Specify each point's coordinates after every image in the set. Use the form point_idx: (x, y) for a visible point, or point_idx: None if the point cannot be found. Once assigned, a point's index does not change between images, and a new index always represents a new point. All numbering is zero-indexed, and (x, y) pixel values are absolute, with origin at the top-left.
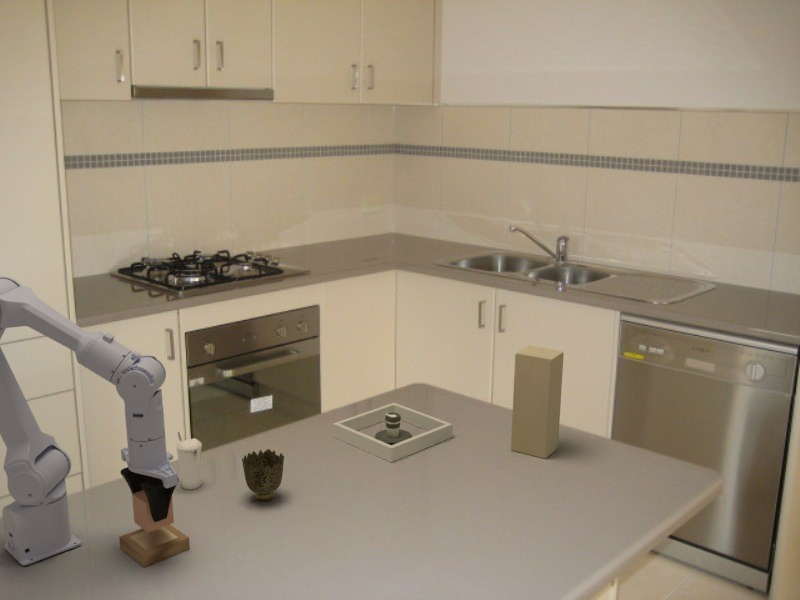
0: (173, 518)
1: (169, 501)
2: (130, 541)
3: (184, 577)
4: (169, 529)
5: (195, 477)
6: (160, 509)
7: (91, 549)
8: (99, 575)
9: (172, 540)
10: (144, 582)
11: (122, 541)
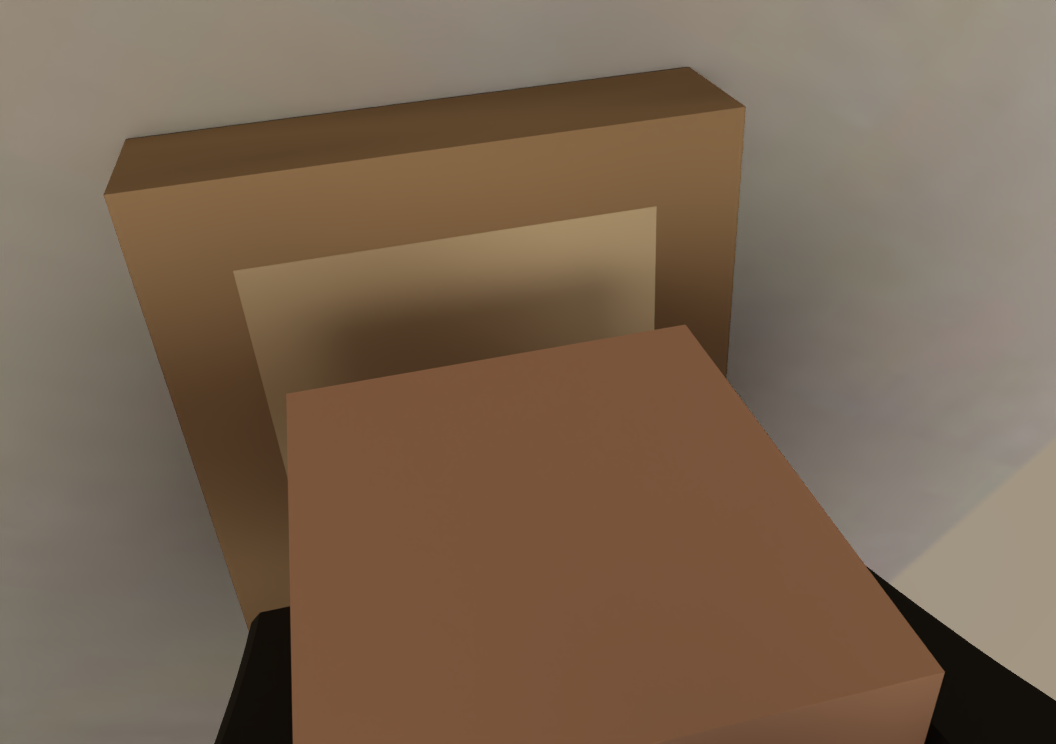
0: (711, 360)
1: (1009, 683)
2: None
3: (1018, 287)
4: (413, 225)
5: None
6: None
7: (146, 719)
8: None
9: (668, 281)
10: (838, 516)
11: None
